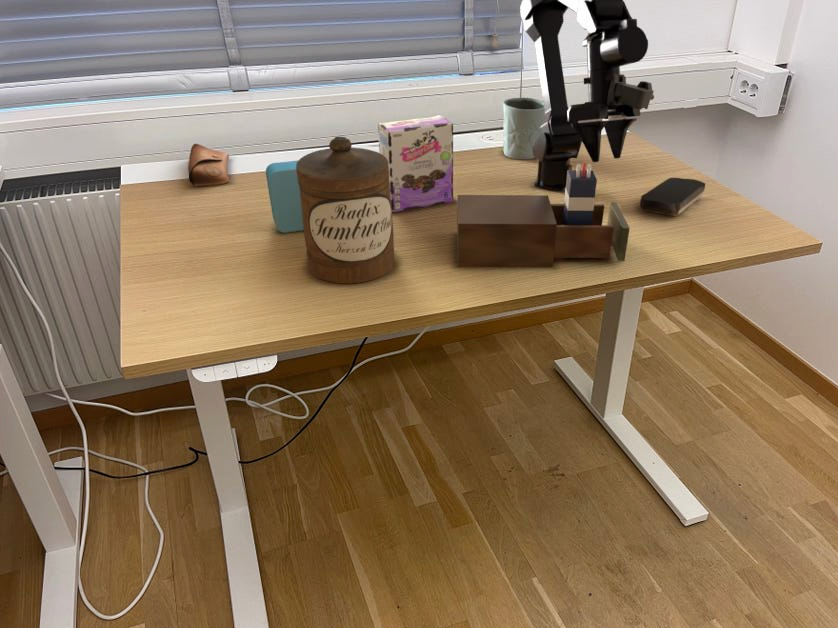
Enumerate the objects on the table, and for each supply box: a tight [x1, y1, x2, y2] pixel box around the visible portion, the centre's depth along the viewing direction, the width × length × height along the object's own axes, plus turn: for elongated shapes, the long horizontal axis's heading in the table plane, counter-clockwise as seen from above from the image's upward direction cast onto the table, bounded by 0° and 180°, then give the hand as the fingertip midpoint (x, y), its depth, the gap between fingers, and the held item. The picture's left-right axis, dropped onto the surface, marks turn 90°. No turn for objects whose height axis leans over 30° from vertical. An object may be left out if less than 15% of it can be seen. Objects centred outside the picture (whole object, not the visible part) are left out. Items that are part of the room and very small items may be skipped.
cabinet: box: [456, 194, 557, 268], centre depth 125 cm, size 17×13×8 cm
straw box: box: [562, 162, 598, 225], centre depth 123 cm, size 4×4×15 cm
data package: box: [265, 160, 304, 234], centre depth 131 cm, size 12×4×12 cm, turn 112°
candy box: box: [377, 115, 454, 213], centre depth 140 cm, size 14×6×16 cm, turn 118°
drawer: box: [550, 201, 631, 262], centre depth 126 cm, size 17×11×6 cm
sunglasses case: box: [187, 143, 230, 187], centre depth 156 cm, size 18×7×7 cm
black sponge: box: [639, 177, 706, 217], centre depth 145 cm, size 16×8×4 cm, turn 143°
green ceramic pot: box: [502, 97, 545, 160], centre depth 167 cm, size 10×10×12 cm
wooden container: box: [296, 136, 395, 284], centre depth 116 cm, size 15×15×22 cm
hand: (606, 160), depth 131 cm, fingers open, 9 cm apart
